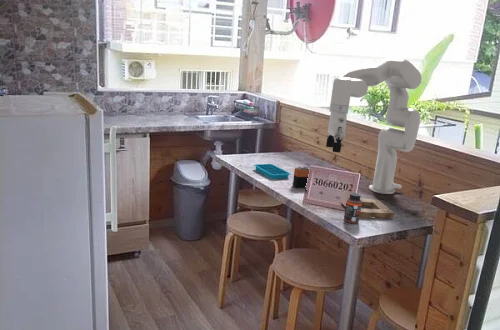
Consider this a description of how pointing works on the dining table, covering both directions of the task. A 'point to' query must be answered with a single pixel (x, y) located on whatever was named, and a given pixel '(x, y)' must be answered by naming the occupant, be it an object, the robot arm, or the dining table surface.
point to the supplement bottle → (353, 208)
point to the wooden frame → (375, 209)
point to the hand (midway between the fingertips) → (332, 149)
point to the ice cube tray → (272, 171)
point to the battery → (300, 177)
